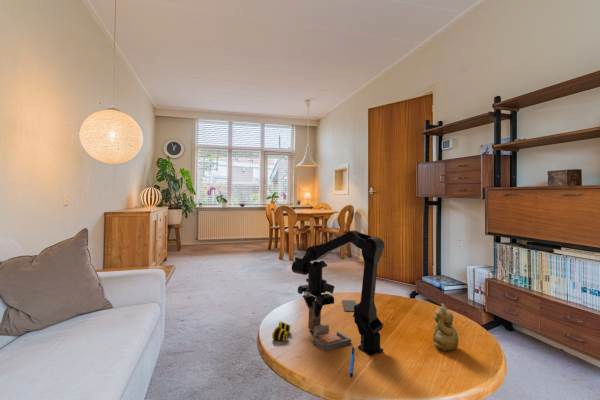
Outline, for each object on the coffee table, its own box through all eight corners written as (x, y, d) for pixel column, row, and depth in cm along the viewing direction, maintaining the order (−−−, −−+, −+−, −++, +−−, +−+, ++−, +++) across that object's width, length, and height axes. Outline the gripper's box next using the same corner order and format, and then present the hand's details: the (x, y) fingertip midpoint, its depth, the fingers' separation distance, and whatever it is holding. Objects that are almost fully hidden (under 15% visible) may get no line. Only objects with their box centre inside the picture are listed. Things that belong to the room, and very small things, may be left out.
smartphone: (344, 310, 144) (341, 299, 159) (344, 312, 144) (341, 301, 159) (358, 311, 143) (355, 300, 158) (358, 313, 143) (355, 302, 158)
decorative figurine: (434, 339, 115) (434, 300, 116) (458, 344, 112) (459, 304, 112) (432, 350, 107) (432, 308, 107) (458, 356, 103) (459, 312, 103)
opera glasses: (284, 345, 112) (287, 332, 111) (270, 341, 113) (273, 328, 112) (290, 334, 121) (292, 322, 121) (277, 330, 122) (280, 318, 122)
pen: (354, 348, 108) (354, 345, 108) (352, 379, 90) (352, 375, 90) (351, 348, 108) (351, 345, 108) (349, 379, 90) (349, 375, 90)
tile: (341, 344, 112) (341, 338, 112) (328, 347, 109) (328, 342, 109) (332, 337, 117) (332, 332, 117) (319, 341, 114) (319, 335, 114)
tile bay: (351, 343, 112) (351, 339, 112) (324, 351, 106) (324, 346, 106) (338, 335, 118) (338, 331, 118) (312, 342, 112) (312, 338, 112)
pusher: (328, 333, 119) (329, 310, 119) (315, 336, 116) (316, 313, 116) (318, 326, 125) (318, 304, 125) (305, 328, 122) (306, 306, 122)
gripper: (345, 279, 118) (345, 319, 118) (319, 270, 134) (318, 305, 134) (322, 283, 113) (321, 325, 113) (297, 272, 129) (296, 309, 129)
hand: (314, 315), depth 122 cm, fingers closed on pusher, 3 cm apart
